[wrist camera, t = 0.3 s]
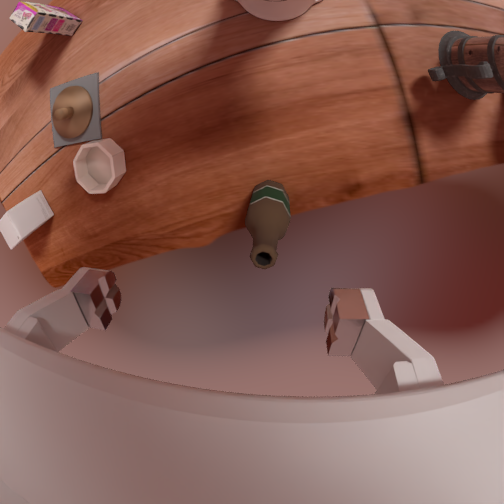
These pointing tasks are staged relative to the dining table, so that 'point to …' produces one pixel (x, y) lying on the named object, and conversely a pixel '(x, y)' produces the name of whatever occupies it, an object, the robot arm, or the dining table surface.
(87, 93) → the lid
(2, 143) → the dining table surface
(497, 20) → the dining table surface
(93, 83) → the mat
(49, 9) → the candy bar box
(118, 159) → the bowl
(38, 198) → the supplement box
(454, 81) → the tankard
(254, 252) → the beer bottle
